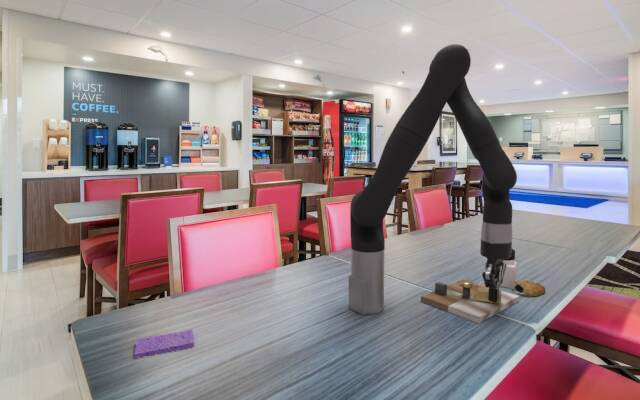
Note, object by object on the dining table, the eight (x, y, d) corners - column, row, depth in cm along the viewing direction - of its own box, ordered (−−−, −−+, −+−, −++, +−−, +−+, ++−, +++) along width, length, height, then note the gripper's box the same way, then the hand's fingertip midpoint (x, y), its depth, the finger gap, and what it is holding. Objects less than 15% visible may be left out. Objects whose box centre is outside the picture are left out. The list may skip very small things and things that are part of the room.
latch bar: (458, 298, 106) (459, 283, 106) (459, 293, 110) (460, 279, 109) (500, 304, 102) (501, 289, 101) (500, 299, 105) (501, 284, 104)
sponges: (194, 349, 85) (194, 342, 85) (133, 361, 81) (133, 353, 80) (193, 335, 92) (192, 328, 91) (136, 345, 87) (136, 338, 87)
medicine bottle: (516, 282, 124) (518, 247, 122) (514, 289, 118) (516, 252, 116) (492, 278, 128) (494, 244, 126) (489, 284, 122) (491, 249, 120)
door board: (478, 323, 95) (479, 304, 94) (420, 301, 109) (421, 285, 108) (518, 301, 108) (519, 284, 108) (462, 284, 122) (463, 269, 122)
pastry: (533, 287, 119) (534, 276, 119) (551, 295, 113) (552, 283, 112) (509, 290, 117) (510, 279, 116) (526, 299, 111) (527, 286, 110)
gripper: (489, 232, 106) (486, 291, 108) (473, 241, 97) (470, 305, 99) (518, 236, 101) (515, 297, 104) (503, 245, 92) (500, 312, 94)
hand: (493, 301), depth 101 cm, fingers closed
